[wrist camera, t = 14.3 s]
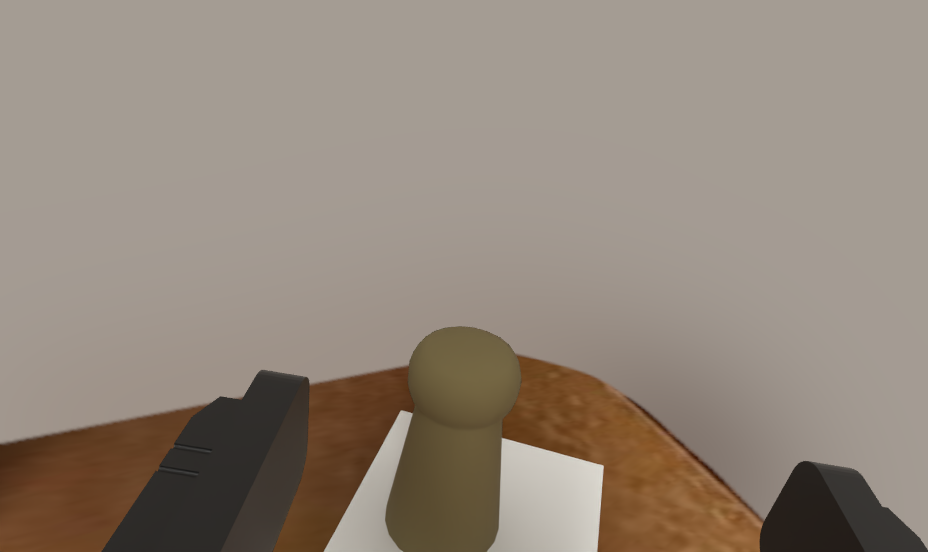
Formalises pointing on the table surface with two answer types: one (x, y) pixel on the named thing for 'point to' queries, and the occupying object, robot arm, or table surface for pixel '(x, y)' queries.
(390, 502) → the cork
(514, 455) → the white mat
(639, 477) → the table surface
